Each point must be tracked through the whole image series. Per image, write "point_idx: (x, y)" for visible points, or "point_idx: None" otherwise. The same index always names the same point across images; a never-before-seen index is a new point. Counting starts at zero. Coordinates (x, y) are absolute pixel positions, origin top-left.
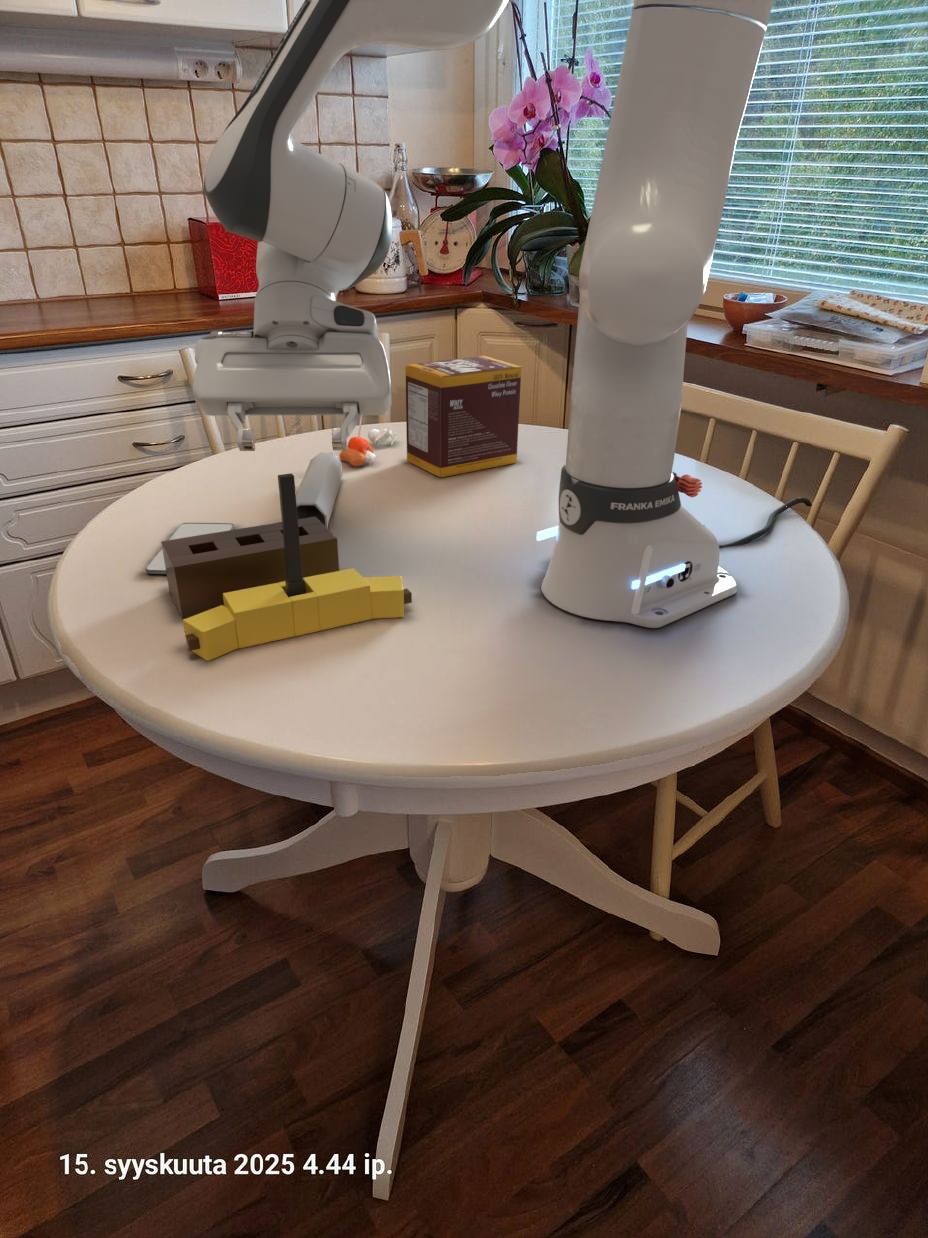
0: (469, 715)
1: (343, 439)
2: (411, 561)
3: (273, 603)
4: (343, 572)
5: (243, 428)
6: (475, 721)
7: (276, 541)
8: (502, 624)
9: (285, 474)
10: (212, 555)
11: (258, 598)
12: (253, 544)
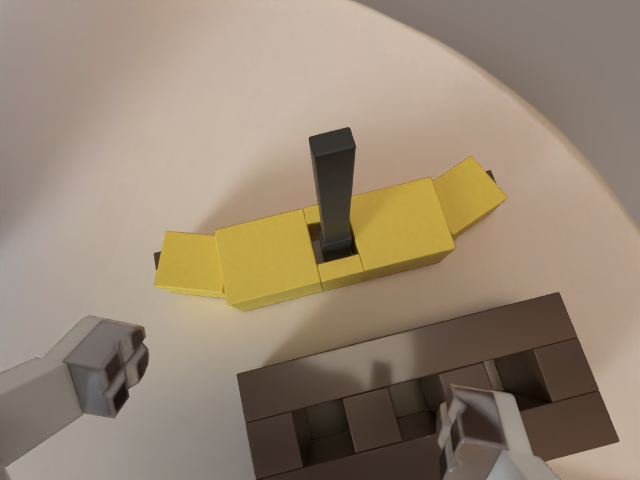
0: (176, 27)
1: (90, 322)
2: (110, 459)
3: (372, 196)
4: (248, 288)
5: (505, 449)
6: (174, 17)
7: (363, 382)
8: (60, 198)
9: (332, 148)
10: (492, 334)
11: (396, 217)
12: (412, 376)
